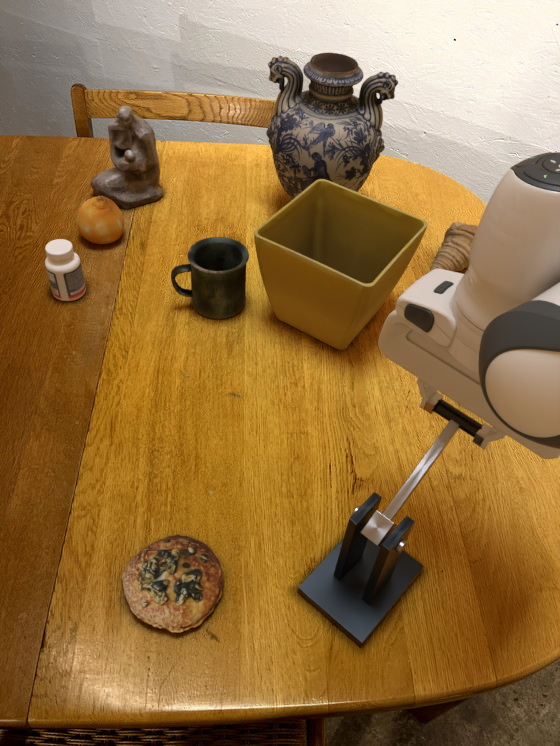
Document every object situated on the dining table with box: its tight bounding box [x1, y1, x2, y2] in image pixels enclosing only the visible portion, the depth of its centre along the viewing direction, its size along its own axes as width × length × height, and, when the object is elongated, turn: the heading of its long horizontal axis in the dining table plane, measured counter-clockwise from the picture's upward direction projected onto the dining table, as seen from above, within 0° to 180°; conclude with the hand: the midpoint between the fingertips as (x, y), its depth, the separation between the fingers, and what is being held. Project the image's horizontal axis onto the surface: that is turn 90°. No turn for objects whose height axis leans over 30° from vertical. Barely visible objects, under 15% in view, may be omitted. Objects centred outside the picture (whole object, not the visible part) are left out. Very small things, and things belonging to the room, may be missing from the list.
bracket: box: [296, 491, 425, 648], centre depth 70 cm, size 12×9×14 cm
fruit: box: [76, 196, 125, 245], centre depth 113 cm, size 8×8×8 cm
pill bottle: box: [44, 238, 87, 302], centre depth 102 cm, size 5×5×9 cm
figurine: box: [90, 105, 164, 210], centre depth 118 cm, size 13×12×18 cm
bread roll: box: [121, 534, 225, 634], centre depth 71 cm, size 11×11×5 cm
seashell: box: [429, 221, 478, 273], centre depth 113 cm, size 14×8×8 cm
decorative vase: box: [265, 52, 399, 201], centre depth 114 cm, size 21×19×28 cm
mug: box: [170, 236, 250, 320], centre depth 101 cm, size 9×12×10 cm
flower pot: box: [253, 179, 429, 351], centre depth 99 cm, size 19×19×17 cm
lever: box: [361, 399, 484, 547], centre depth 66 cm, size 16×5×2 cm, turn 138°
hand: (454, 424), depth 67 cm, fingers closed on lever, 5 cm apart
